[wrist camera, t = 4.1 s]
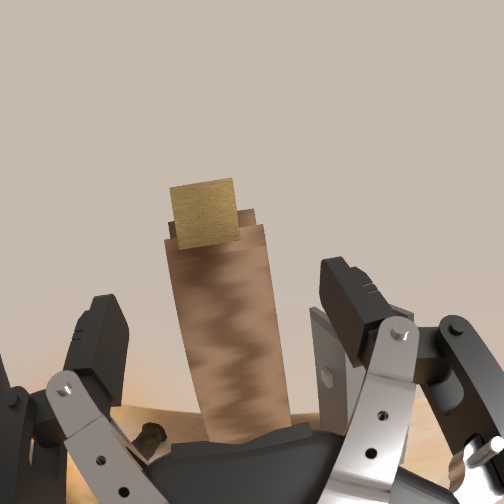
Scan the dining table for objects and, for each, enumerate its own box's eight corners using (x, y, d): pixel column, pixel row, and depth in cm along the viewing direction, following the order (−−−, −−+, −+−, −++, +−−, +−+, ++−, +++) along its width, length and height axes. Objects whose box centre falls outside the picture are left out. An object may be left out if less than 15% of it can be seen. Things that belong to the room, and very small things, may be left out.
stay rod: (177, 250, 19) (167, 185, 19) (200, 223, 41) (195, 191, 40) (242, 240, 20) (233, 174, 19) (231, 218, 41) (226, 187, 40)
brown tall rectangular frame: (228, 498, 29) (161, 223, 27) (224, 445, 41) (178, 227, 39) (299, 485, 30) (260, 207, 28) (281, 435, 42) (247, 217, 40)
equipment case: (342, 486, 28) (337, 334, 27) (317, 440, 39) (304, 308, 38) (403, 462, 29) (413, 313, 27) (369, 424, 40) (366, 295, 38)
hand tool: (149, 437, 44) (141, 417, 44) (169, 440, 43) (161, 418, 43) (95, 506, 25) (80, 484, 25) (118, 514, 25) (104, 492, 25)
